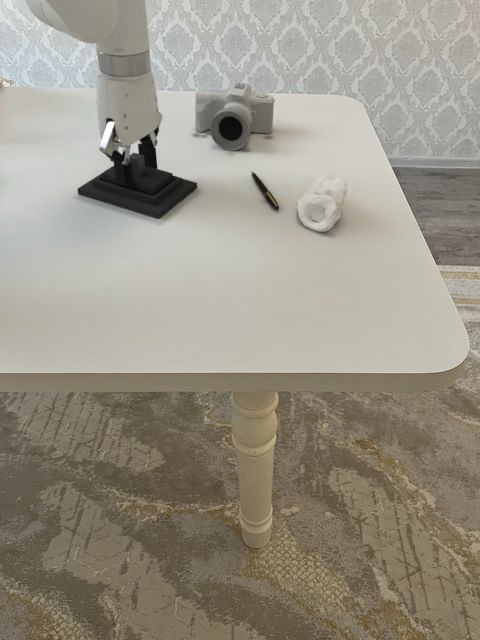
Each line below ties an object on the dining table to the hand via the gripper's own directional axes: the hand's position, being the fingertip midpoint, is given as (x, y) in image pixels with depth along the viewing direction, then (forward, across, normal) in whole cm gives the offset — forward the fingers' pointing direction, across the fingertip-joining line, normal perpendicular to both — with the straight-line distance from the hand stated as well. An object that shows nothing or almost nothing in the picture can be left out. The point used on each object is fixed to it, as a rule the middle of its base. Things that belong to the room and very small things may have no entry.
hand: (137, 175), depth 99 cm
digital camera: (+3, -28, +2) cm, 28 cm away
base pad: (+3, 0, 0) cm, 3 cm away
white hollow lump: (+3, -8, +30) cm, 31 cm away
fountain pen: (+3, -10, +19) cm, 22 cm away
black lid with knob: (+1, 0, 0) cm, 1 cm away
